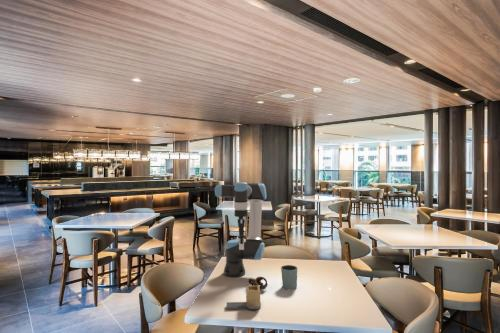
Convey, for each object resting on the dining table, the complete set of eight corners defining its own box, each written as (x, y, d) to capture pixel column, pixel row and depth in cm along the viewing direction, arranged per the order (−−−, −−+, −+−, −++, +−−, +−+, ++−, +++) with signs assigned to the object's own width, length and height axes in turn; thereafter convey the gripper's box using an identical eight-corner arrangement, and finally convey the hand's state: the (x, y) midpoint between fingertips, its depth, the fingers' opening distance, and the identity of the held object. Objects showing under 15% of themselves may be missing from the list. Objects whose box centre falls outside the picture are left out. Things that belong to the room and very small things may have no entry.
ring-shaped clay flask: (267, 286, 186) (269, 277, 182) (264, 298, 178) (266, 289, 174) (248, 280, 188) (251, 271, 184) (245, 292, 180) (247, 283, 176)
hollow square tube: (246, 300, 160) (246, 285, 160) (259, 300, 161) (259, 285, 161) (246, 306, 153) (246, 291, 153) (260, 306, 154) (260, 290, 154)
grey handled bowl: (226, 304, 160) (226, 291, 160) (260, 303, 161) (260, 290, 161) (226, 311, 152) (226, 297, 152) (261, 310, 153) (261, 296, 153)
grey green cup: (297, 290, 178) (297, 270, 178) (280, 289, 180) (280, 269, 180) (297, 284, 188) (297, 265, 188) (281, 283, 190) (281, 264, 190)
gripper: (248, 212, 159) (248, 252, 159) (246, 206, 184) (246, 240, 184) (234, 212, 159) (234, 252, 158) (234, 206, 183) (234, 241, 183)
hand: (241, 246), depth 171 cm, fingers open, 13 cm apart
